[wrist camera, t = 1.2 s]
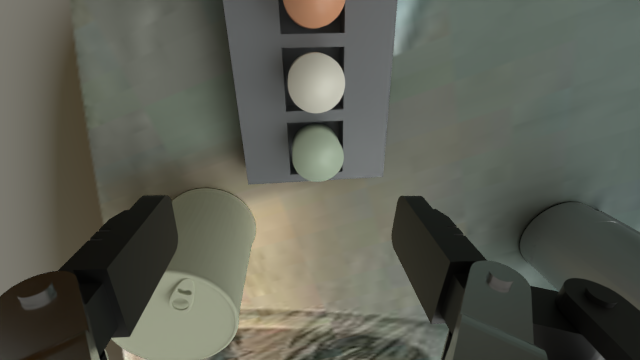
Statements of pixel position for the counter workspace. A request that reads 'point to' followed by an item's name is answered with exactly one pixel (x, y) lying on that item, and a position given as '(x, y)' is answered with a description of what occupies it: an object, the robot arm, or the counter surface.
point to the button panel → (272, 84)
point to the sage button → (317, 152)
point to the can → (198, 281)
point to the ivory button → (315, 82)
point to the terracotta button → (313, 12)
